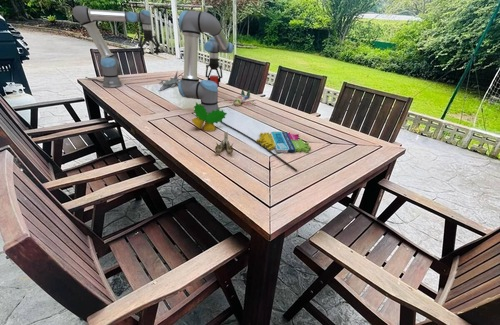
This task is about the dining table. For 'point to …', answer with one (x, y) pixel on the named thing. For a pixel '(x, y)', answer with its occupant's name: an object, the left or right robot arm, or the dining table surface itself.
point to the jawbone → (224, 145)
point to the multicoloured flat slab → (283, 142)
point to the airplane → (169, 82)
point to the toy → (241, 99)
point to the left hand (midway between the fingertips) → (150, 54)
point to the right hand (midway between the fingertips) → (214, 85)
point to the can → (214, 79)
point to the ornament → (207, 117)
